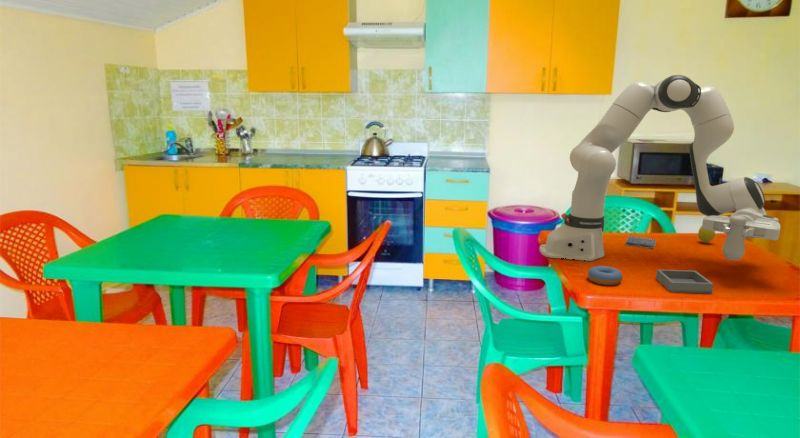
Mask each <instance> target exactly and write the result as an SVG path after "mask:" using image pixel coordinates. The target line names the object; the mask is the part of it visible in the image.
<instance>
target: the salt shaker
mask: <svg viewBox="0 0 800 438" xmlns="http://www.w3.org/2000/svg"><path fill="white" fill-rule="evenodd" d="M730 216H731V215H730ZM730 216H729V217H730ZM746 222H747V219H746V218H745V217H743V216H737V215H736V216H731V217H730V224H731V226H730V231H729V234H727V235H726V238H725V241H724V243H723V246H722V250H721V251H722V253H723V256H724V258H725V259H727V260H730V261H739V260H741V259H742V257H743V256H744V255H745V253H746V249H745V238H744V236H742V230H743V229H744V226H743V225H746Z"/></svg>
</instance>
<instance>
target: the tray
mask: <svg viewBox="0 0 800 438" xmlns="http://www.w3.org/2000/svg"><path fill="white" fill-rule="evenodd" d="M655 279H656V280H657V282H659V283H660V284H661V285H662V286H663V285H664V286H665V287H666V288H665V289H666V290H667V291H669V292H670V293H679V292H681V293H683V294H685V293H686V294H687V293H688V294H708V293H709V294H711V295H712V294H713V290H714V283H713V282H711V281H710V280H709V279H708V278H706V277H705V276H703V274H701V273H700V272H698V271H697V270H687V269H686V270H681V269H680V270H678V269H656V275H655ZM664 286H663V287H664ZM679 294H680V293H679Z"/></svg>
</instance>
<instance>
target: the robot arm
mask: <svg viewBox="0 0 800 438" xmlns="http://www.w3.org/2000/svg"><path fill="white" fill-rule="evenodd" d="M651 110H654V111H657V112H660V113H671V112H676V111H678V110H682V111H684V112H685V113H686V114H687V116H688V117H689V118H690V122H691V124H692V127H693V131H694V138H693V141H692V142H691V143H690V144H689V158H690V165H691V166H690V167H691V171H692V177H693V183H694V189H695V198H696V206H697V209H698V211H699V212H700V213H701V214H703V215H704V216H705V217H703V219H702V223H701V224H702V225H701V226H702V228H703V229H706V230H712V231H715V232H720V233H724V234H727V235H728V234H729V231H730V226H731V224H730V217H731V216H736V215H737V216H743V217H745V218H746V219H747V222H746V225H743V226H744V229H743V230H742V236H744V239H756V238H757V239H765V240H770V241H778V240H779V238H780V232H781V228H782V227H781V226H782V225H781V223H779V218H778V217H774V216H771V215H770V216H769V215H767V212H766V209H765V208H764V206H765V204H766V198H765V194H764V192H763V189H762V188H761V186H760V184H759V182H757V181H755V180H754V179H752V178H750V177H747V176H744V177H742V178H736V179H733V180H730V181H728V182H724V183H721V184H716V185H711V184H710V179H709V173H708V168H707V167H708V166H707V160H708V158H709V157H710V155H711V154H712V153H713V152H715V151H716V150H717V149H718V150H719V148H720V147H722V145H725V143H726V142H728V141H729V139H731V137H732V135H733V133H734V129H735V125H734V121H733V118H732V114H731V112H730V110H729V107H728V105H727V103H726V102H725V100H724V98H723V96H722V94H721V92H719V90H718V89H717V88H716V87H714V86H711V85H706V86H700V85H698V84H697V83H696V82H694V81H693V80H692V79H691V78H690V77H688V76H685V75H682V74H675V75H673V74H672V75H670V76H668V77H667V78H664V79H662V80H661V81H659V82H658V83H656V84H655V85H651V84H649V83H647V82H645V81H642V80H641V81H639V80H638V81H637V80H636V81H633V82H631V83H630V84H629V85H628V86H626V88H624V90H622V91H621V93H620V94H619V95H618V96H617V98H616V99H615V100H614V101H613V102H612V104H611V105H610V106H609V108H608V110H607V111H606V112H605V114H604V115H603V116H602V118H601V119H600V120H599V122H597V124H596V125H595V126H594V128H593V129H591V131H590V132H588V133H587V134H586V135H585V136H584V138H583V139H582V140H581V142H579V144H577V145H576V146H575V147H574V148H573V149H571V152H570V154H569V162H570V165H571V167H572V168H573V169H574V170H575V171H576V172H577V179H576V182H575V184H574V185H575V186H574V188H573V191H572V193H571V204H570V213H569V214H567V213H565V212H562V214H561V219H563V220H564V221H563V224H561V225H560V226H559V227H557V228H556V229H554V230H552V231H550V232H549V234H548V235H547V238H546V241H545V244H543V243H542V244H541V245H540V246H539V252H540V254H542V256H544V257H547V258H551V259H552V258H553V259H561V258H564V259H563V260H572V259H575V261H576V260H577V261H584V260H585V262H593V261H595V260H597V259H601V258H603V257H605V250H604V244H603V243H604V242H603V232H604V229H605V216H604V213H605V212H604V211H605V202H606V194H607V191H608V187H609V184H610V181H611V177H612V174H614V172H615V170H616V166H617V162H616V158H615V156H614V155H613V152H615V151H616V150H617V149H618V148H619V147H620V146H621V145H623V144H625V143H626V142H627V141H628V140H629V138H630V137H631V136H632V135H633V133H634V132H635V130H637V127H638V126H639V125H640V124H641V122H642V121H643V120H644V118H645V117H646V115H647V114H648V113H649V111H651ZM731 212H733V213H731ZM728 213H731V215H730V216H722V215H724V214H728ZM565 258H566V259H565Z"/></svg>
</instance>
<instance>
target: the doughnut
mask: <svg viewBox="0 0 800 438" xmlns="http://www.w3.org/2000/svg"><path fill="white" fill-rule="evenodd" d="M587 277H588V279H589V280H590V282H592V281H593V282H592V283H594V282H595V283H594V284H596V283H598V284H597V285H600V284H604V285H603V286H607V285H612V286H616V285H615V284H617V285H619V284H620V283H621V282H622V281H623V274H622V272H621V271H620V270H619V269H617V268H615V267H612V266H608V265H607V266H606V265H597V266H596V265H595V266H592V267H590V268H589V270H587Z"/></svg>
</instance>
